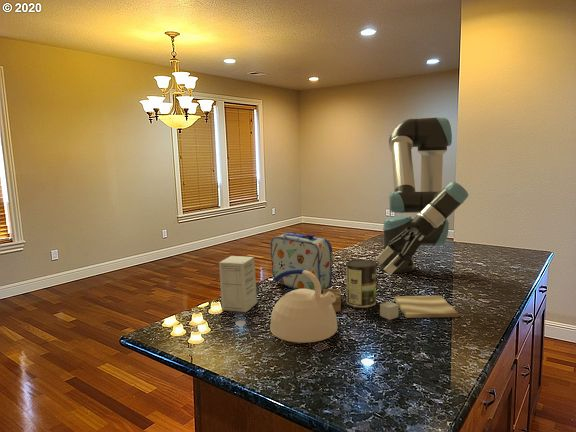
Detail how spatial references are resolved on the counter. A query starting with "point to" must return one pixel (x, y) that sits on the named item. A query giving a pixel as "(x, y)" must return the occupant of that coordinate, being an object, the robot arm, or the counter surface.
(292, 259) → the lunch box
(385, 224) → the robot arm
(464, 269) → the counter surface
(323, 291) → the oak block
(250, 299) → the supplement box
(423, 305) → the maple board
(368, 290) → the coffee can
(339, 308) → the walnut block
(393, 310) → the beige tilted cube
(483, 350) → the counter surface
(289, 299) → the kettle
